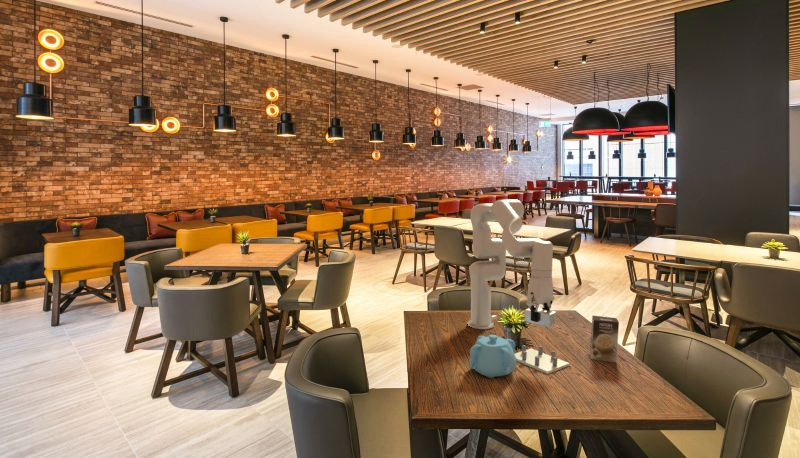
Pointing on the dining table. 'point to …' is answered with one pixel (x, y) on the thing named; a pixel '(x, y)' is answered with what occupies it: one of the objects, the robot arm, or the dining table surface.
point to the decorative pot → (493, 356)
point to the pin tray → (540, 360)
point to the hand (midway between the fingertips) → (540, 319)
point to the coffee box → (604, 338)
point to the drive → (542, 317)
